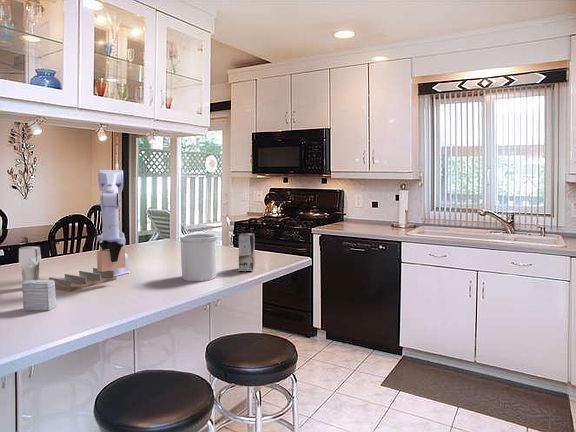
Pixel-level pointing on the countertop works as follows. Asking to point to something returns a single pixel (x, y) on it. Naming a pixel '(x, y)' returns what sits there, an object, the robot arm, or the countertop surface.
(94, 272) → the dish rack
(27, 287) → the medicine box
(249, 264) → the coffee box
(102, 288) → the countertop surface
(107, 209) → the robot arm
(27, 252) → the beer glass
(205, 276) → the utensil holder
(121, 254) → the salmon pink box
